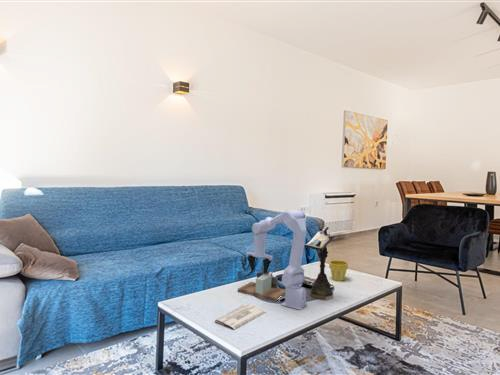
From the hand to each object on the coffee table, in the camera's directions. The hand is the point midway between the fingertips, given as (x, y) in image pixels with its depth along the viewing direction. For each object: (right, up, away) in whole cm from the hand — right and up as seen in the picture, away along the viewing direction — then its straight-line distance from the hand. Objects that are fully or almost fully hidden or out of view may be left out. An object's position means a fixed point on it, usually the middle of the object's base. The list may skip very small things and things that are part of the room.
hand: (259, 271), depth 185 cm
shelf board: (+2, -10, -4) cm, 11 cm away
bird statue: (+30, -11, -8) cm, 32 cm away
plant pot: (+46, -9, +19) cm, 50 cm away
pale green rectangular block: (+2, -8, -5) cm, 10 cm away
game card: (+3, -9, +9) cm, 13 cm away
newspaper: (-9, -13, -32) cm, 36 cm away
